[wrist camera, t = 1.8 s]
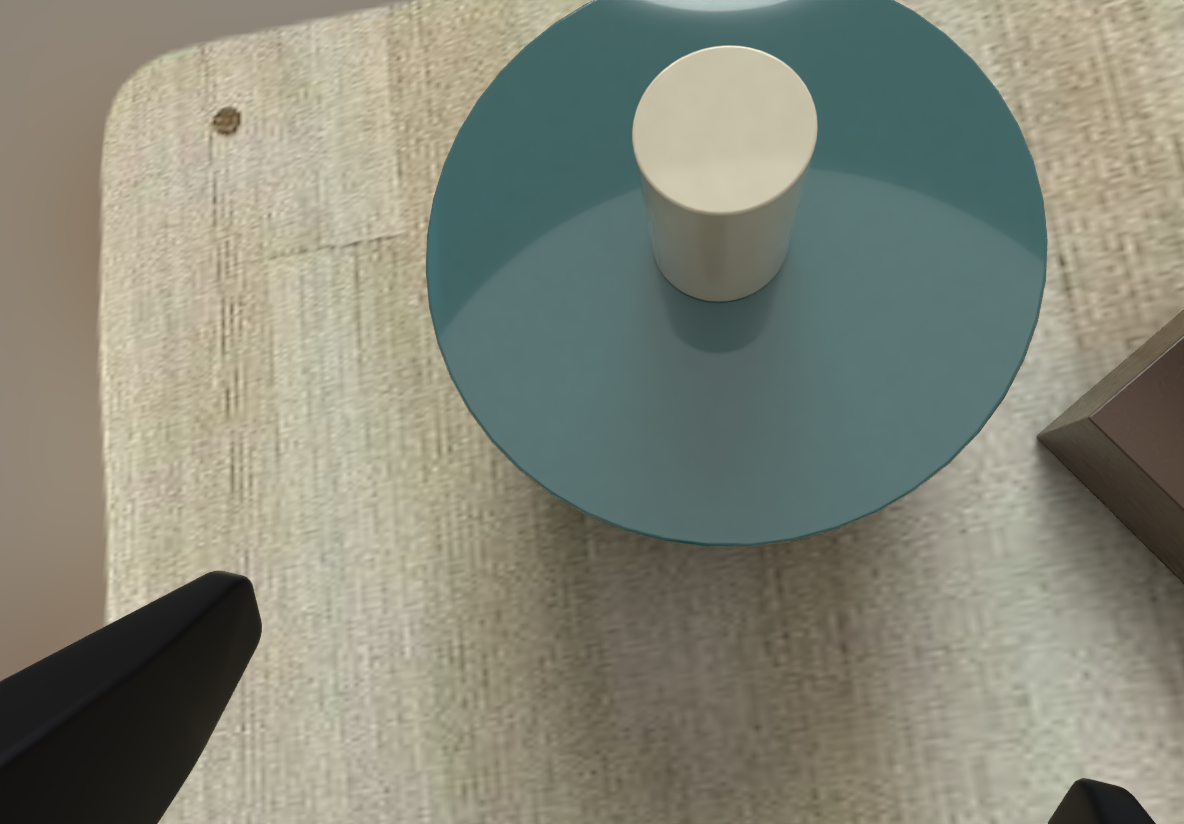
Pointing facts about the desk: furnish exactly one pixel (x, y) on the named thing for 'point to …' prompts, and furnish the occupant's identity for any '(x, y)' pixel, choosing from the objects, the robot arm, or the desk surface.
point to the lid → (736, 262)
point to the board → (1134, 442)
